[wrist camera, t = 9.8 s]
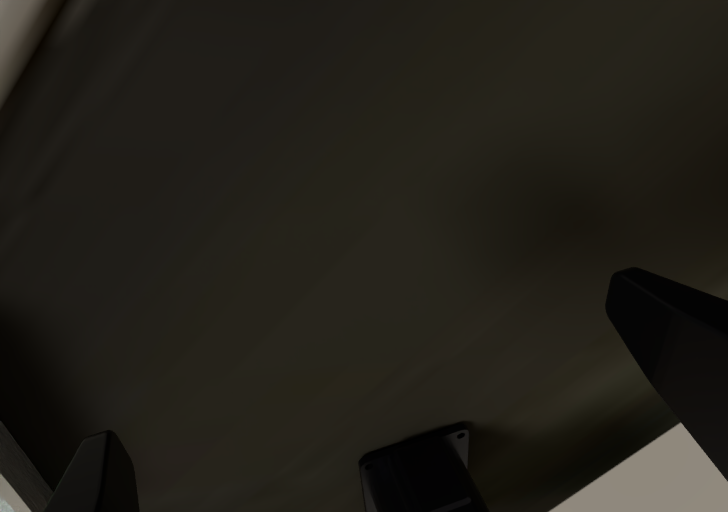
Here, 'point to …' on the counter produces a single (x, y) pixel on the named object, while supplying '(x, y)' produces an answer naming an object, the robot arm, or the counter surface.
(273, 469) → the counter surface
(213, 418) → the counter surface
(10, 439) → the grey rectangular tray
